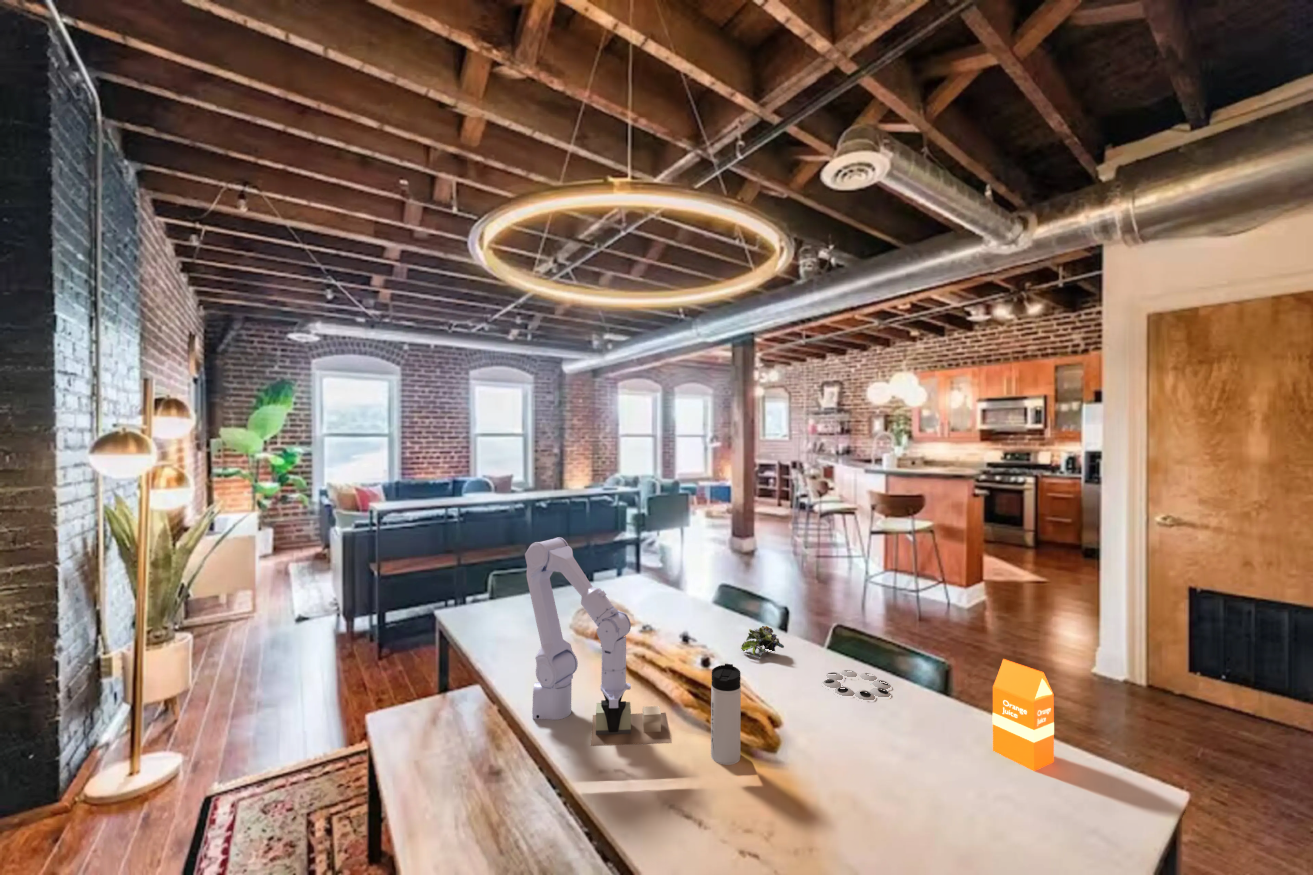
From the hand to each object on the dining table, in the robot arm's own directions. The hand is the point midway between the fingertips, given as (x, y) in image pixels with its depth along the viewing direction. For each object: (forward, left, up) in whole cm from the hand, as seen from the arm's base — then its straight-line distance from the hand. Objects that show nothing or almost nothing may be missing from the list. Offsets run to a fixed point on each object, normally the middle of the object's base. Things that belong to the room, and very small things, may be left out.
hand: (613, 724), depth 130 cm
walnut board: (+4, 0, -2) cm, 5 cm away
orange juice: (+90, -15, -3) cm, 91 cm away
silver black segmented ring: (+69, +22, -3) cm, 72 cm away
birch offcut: (+9, 0, -1) cm, 9 cm away
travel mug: (+24, -13, -3) cm, 27 cm away
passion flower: (+48, +46, -3) cm, 67 cm away
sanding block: (0, 0, -1) cm, 1 cm away
